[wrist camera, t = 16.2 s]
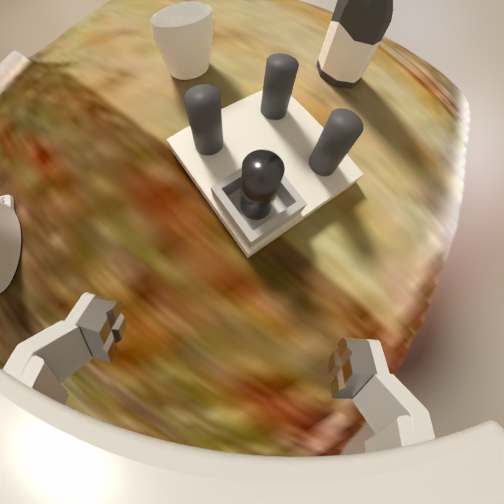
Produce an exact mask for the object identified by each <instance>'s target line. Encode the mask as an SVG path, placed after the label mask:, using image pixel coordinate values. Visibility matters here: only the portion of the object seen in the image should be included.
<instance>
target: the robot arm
mask: <svg viewBox="0 0 504 504" xmlns="http://www.w3.org/2000/svg"><path fill="white" fill-rule="evenodd" d="M20 249H21V230H20V224H19V221H18V218H17V216H16V214H15V211H14V198H13V196H11V195H4V196H0V293H1V292H3V291H4V290H5V289H6V288H7V287H8V285H9V284H10V282H11V280H12V279H13V276H14V274H15V271H16V268H17V265H18V261H19V256H20ZM121 311H122V305H121V302H118V301H115V300H111V299H108V298H104V297H101V296H98V295H94V294H91V293H87V292H86V293H84V294H83V295H82V296H81V297H80V299H79V300H78V302H77V303H76V305H75V306H74V308H73V309H72V311H71V312H70V314H69V315H68V317H67V318H66V320H65V321H60V322H58V323H56V324H54V325H52V326H50V327H49V328H47V329H45V330H43V331H41V332H39V333H38V334H36V335H34V336H32V337H30V338H29V339H27V340H25V341H23V342H21V343H20V344H18V345H17V346H16V348H15V349H14V351H13V353H12V354H11V356H10V358H9V359H8V361H7V363H6V365H5V366H4V368H3V370H2V369H1V368H0V504H504V430H503V428H502V427H501V426H500V425H499V424H498V423H496V422H495V421H493V420H490V421H486V422H483V423H481V424H478V425H476V426H473V427H470V428H468V429H465V430H462V431H459V432H456V433H453V434H450V435H446V436H443V437H439V438H436V439H435V436H434V432H433V427H432V423H431V420H430V416H429V412H428V410H427V409H426V408H425V407H424V406H423V405H422V404H421V403H420V402H419V401H418V400H417V399H416V398H415V397H414V396H413V395H412V394H411V392H409V391H408V389H407V388H406V387H405V386H404V385H403V384H402V383H401V382H400V381H399V380H398V379H397V378H396V377H395V376H394V375H393V374H390V373H389V370H388V367H387V363H386V360H385V356H384V353H383V350H382V347H381V343H380V342H379V340H368V339H367V340H366V339H353V338H342V339H341V340H340V341H339V343H338V349H336V350H334V351H333V353H332V354H331V356H330V360H329V374H330V375H331V376H332V378H333V381H332V382H331V391H332V398H340V399H352V401H353V402H354V404H355V405H356V406H357V408H358V409H359V411H360V412H361V414H362V415H363V416H364V418H365V419H366V421H367V422H368V424H369V425H370V427H371V428H372V429H373V431H374V432H375V434H374V435H373V436H371V437H370V438H369V439H367V440H366V441H365V451H366V453H357V454H348V455H335V456H314V457H283V456H262V455H249V454H239V453H230V452H223V451H216V450H209V449H203V448H198V447H192V446H187V445H182V444H178V443H173V442H169V441H165V440H161V439H157V438H153V437H150V436H146V435H143V434H139V433H136V432H133V431H130V430H127V429H123V428H121V427H118V426H115V425H112V424H109V423H106V422H104V421H101V420H99V419H96V418H93V417H91V416H89V415H86V414H84V413H81V412H79V411H77V410H75V409H72V408H70V407H68V406H66V405H64V404H65V401H66V399H67V396H68V394H67V392H66V390H65V389H64V388H63V386H62V385H61V384H60V383H61V382H63V381H64V380H65V379H66V378H68V377H69V376H70V375H71V374H73V373H74V372H75V371H77V370H78V369H79V368H80V367H82V366H83V365H84V364H86V363H87V362H88V361H89V360H91V359H92V357H94V358H97V359H101V360H104V361H107V362H112V360H113V358H114V355H115V353H116V351H117V346H116V343H118V342H119V341H121V340H122V338H123V336H124V332H125V328H126V322H125V317H124V316H123V315H122V314H121Z"/></svg>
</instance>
